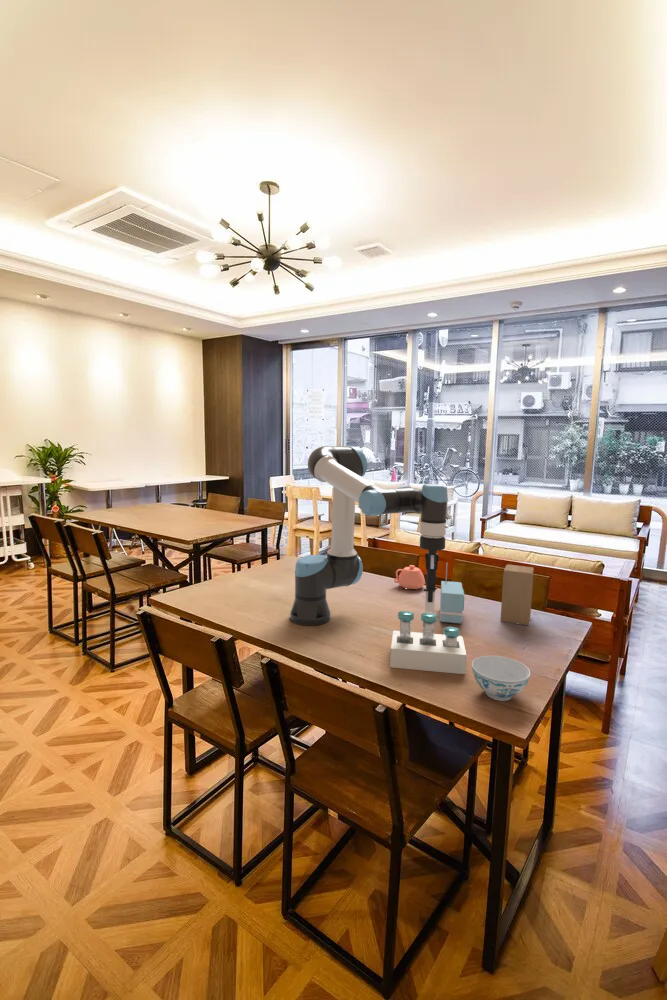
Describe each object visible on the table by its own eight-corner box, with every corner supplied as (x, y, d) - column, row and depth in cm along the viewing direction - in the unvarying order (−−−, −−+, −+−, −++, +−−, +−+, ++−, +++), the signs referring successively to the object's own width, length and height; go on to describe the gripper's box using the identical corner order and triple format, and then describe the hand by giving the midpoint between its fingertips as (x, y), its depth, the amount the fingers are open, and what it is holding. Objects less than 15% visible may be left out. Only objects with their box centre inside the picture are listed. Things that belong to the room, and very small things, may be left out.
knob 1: (396, 645, 155) (397, 615, 154) (397, 638, 160) (398, 610, 158) (412, 646, 154) (413, 617, 153) (412, 640, 159) (413, 611, 158)
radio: (465, 626, 185) (467, 573, 183) (440, 623, 187) (442, 571, 184) (462, 611, 201) (465, 562, 198) (439, 609, 203) (442, 561, 200)
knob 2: (442, 661, 153) (444, 632, 152) (441, 654, 158) (443, 626, 157) (458, 662, 152) (460, 633, 151) (457, 656, 157) (459, 627, 156)
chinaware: (467, 702, 132) (469, 674, 131) (473, 677, 146) (474, 651, 145) (528, 714, 127) (530, 685, 126) (528, 687, 141) (530, 661, 140)
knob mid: (419, 647, 154) (421, 617, 153) (419, 640, 158) (421, 612, 157) (435, 648, 153) (437, 618, 152) (435, 642, 158) (436, 613, 156)
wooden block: (530, 617, 195) (533, 567, 193) (528, 626, 186) (532, 573, 184) (503, 613, 199) (506, 564, 197) (500, 621, 190) (503, 570, 188)
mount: (390, 667, 151) (390, 648, 151) (392, 647, 165) (393, 630, 164) (465, 674, 148) (466, 655, 147) (461, 653, 161) (462, 636, 161)
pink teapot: (426, 591, 225) (427, 569, 223) (395, 591, 225) (396, 568, 224) (422, 583, 237) (423, 562, 236) (392, 582, 237) (393, 561, 236)
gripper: (446, 540, 144) (442, 619, 147) (444, 532, 157) (441, 604, 160) (420, 539, 145) (417, 617, 149) (420, 530, 158) (417, 603, 161)
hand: (429, 610), depth 154 cm, fingers closed
